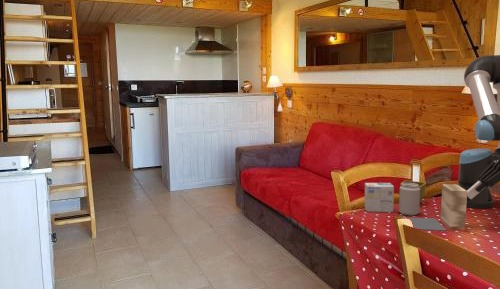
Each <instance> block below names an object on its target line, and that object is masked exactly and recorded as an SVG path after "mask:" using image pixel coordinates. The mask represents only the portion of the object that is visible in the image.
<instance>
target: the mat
mask: <svg viewBox="0 0 500 289" xmlns="http://www.w3.org/2000/svg"><path fill="white" fill-rule="evenodd" d="M407 218H408V219H410V220H411V221H412V223H413V226H414V227H415V228H418V229H421V230H420V231H434V232H437V231H438V232H447V228H445V227H444V226H443V225H442V224H441V222H439V221H438V220H437V218H433V217H429V218H427V217H426V218H425V217H407Z"/></svg>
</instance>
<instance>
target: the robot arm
mask: <svg viewBox="0 0 500 289" xmlns="http://www.w3.org/2000/svg"><path fill="white" fill-rule="evenodd" d="M463 75H464V76H463V81H464V84H465V85H466V86H465V87H467V88H468V89H469V91H470V95H471V98H472V101H473V105H474V108H475V112H476V115H477V121H476V123H475V124H474V134H475V138H476V139H477V140H479V141H487V142H491V141H494V142H495V141H496V142H498V145H497V147H495V148H494V152H493V151H492V149H490V148H473V149H471V148H470V149H466V150H463V151H462V152H460V155H459V162H458V165H459V168H458V181H457V182H458V183H457V185H458V186H460V187H462V188H463V189H465V190H466V191H467V204H466V208H471V209H490V208H493V207H494V199H493V195H492V191H491V188H492V187H494V186H495V185H497V184H498V183H500V54H494V55H490V54H489V55H482V56H479V57H477V58H475V59H473V61H471V62H470V63H469V64H468V66H467V67H466V69H465V71H464V73H463ZM491 83H492V85H491ZM493 89H494V90H496V92H497V93H496V94H497V95H496V96H497V97H496V98H497V99H496V98H495V94H494V91H493Z"/></svg>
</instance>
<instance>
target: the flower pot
mask: <svg viewBox="0 0 500 289" xmlns="http://www.w3.org/2000/svg"><path fill="white" fill-rule="evenodd" d="M402 183H415V184H418V187H419V188H420V202H419V204H420V203H421V202H422V201H423V198H424V196H425V192H426V187H427V182H423V181H415V180H414V181H413V180H404V181H402V182H401V183H400V184H399V186H400V187H401V186H402ZM400 187H399V188H400Z"/></svg>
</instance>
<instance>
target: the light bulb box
mask: <svg viewBox="0 0 500 289" xmlns="http://www.w3.org/2000/svg"><path fill="white" fill-rule="evenodd" d="M394 188H395V187H394V185H393V184H392V183H391V182H364V209H365V210H366V212H367V213H368V212H370V213H393V212H394V204H395V203H394V196H395V194H394V192H395V189H394Z"/></svg>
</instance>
